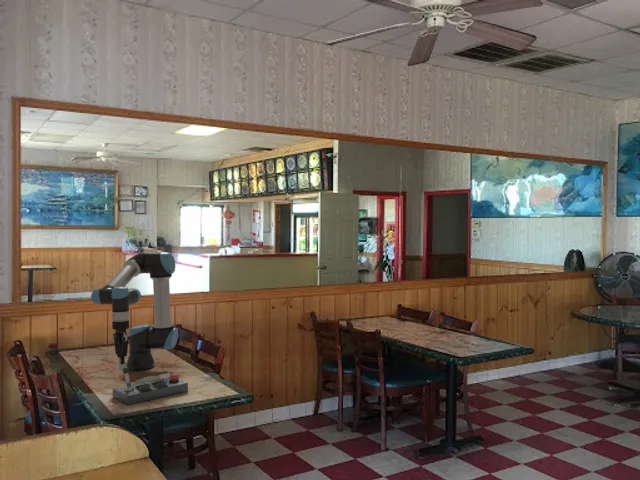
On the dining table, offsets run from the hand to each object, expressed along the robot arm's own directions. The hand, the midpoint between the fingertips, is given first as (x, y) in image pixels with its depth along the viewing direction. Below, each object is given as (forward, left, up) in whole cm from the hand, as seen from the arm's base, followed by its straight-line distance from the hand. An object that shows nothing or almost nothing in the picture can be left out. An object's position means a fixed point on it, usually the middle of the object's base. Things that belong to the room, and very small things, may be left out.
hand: (121, 370), depth 262 cm
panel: (+8, +11, -12) cm, 18 cm away
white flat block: (+8, +8, -5) cm, 12 cm away
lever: (+8, 0, -7) cm, 10 cm away
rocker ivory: (+8, +16, -5) cm, 18 cm away
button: (+8, +23, -8) cm, 25 cm away
